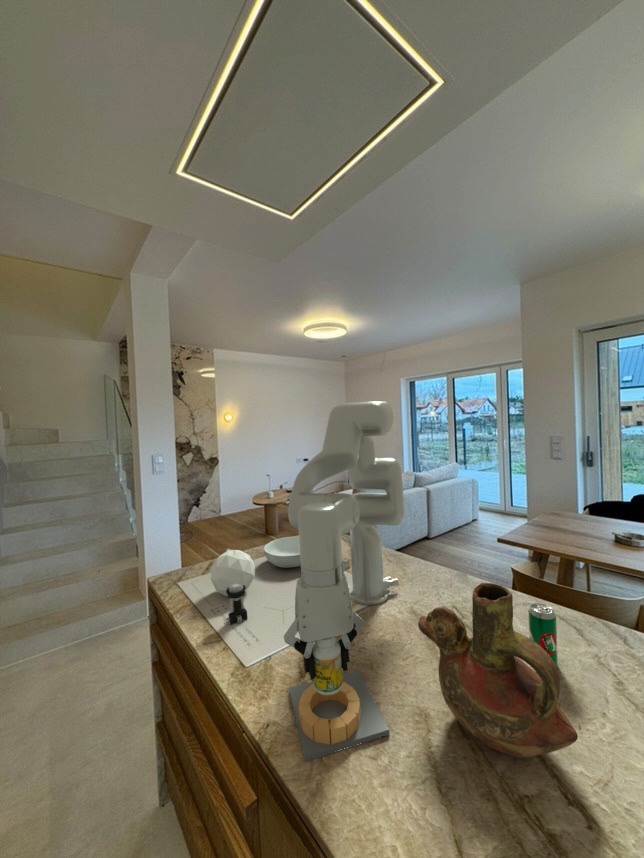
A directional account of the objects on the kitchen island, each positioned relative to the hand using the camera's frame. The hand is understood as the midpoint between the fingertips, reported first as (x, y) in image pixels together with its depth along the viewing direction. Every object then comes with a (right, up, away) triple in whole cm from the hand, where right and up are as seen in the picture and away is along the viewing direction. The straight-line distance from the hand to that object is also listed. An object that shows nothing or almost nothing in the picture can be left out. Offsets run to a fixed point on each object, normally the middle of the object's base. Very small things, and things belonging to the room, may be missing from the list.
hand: (327, 669), depth 64 cm
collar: (+1, -10, 0) cm, 10 cm away
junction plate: (+2, -10, +2) cm, 10 cm away
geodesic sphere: (-30, -10, +50) cm, 59 cm away
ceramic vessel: (+28, -9, -2) cm, 30 cm away
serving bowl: (-13, -8, +72) cm, 73 cm away
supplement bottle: (0, -3, 0) cm, 3 cm away
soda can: (+47, -7, +12) cm, 49 cm away
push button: (-25, -10, +34) cm, 43 cm away
